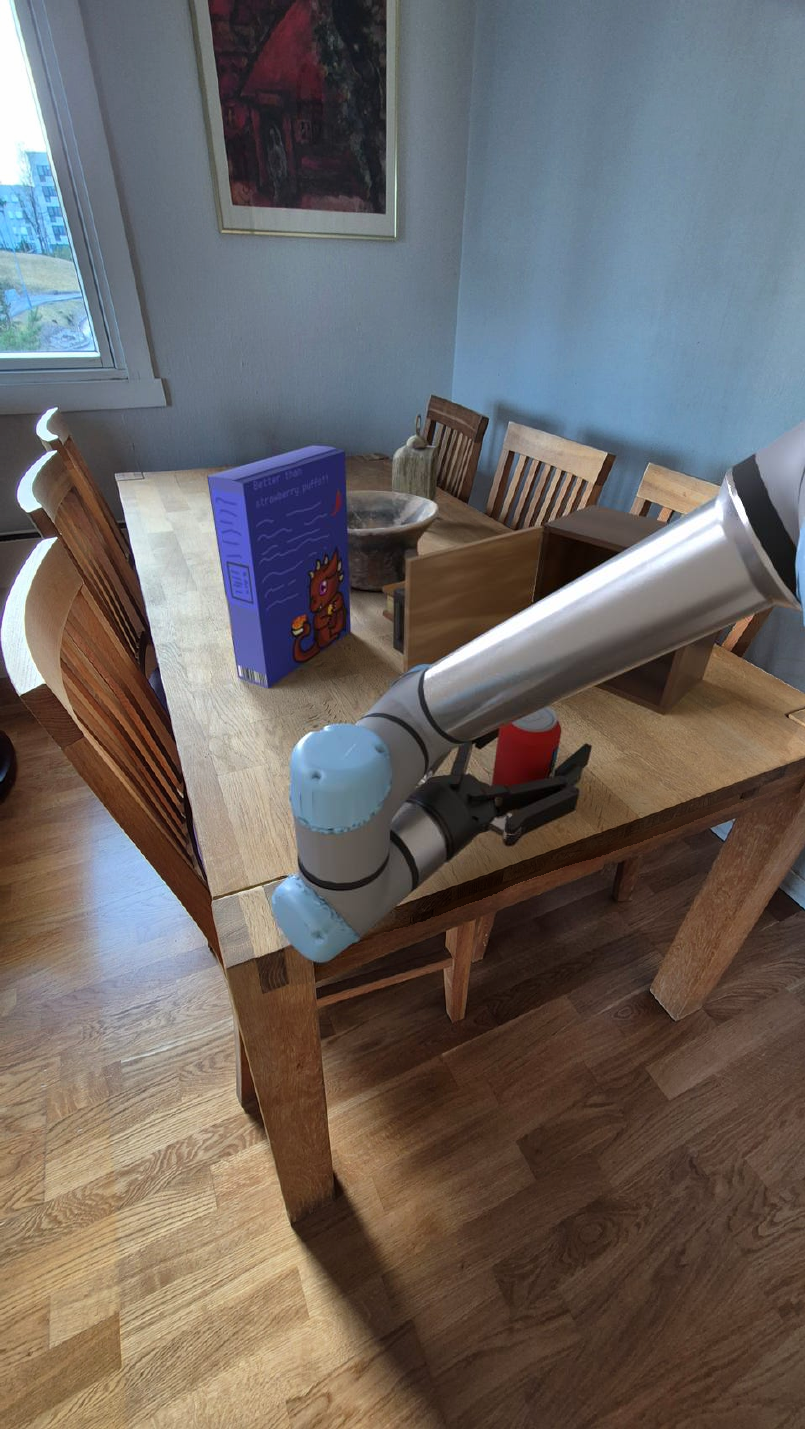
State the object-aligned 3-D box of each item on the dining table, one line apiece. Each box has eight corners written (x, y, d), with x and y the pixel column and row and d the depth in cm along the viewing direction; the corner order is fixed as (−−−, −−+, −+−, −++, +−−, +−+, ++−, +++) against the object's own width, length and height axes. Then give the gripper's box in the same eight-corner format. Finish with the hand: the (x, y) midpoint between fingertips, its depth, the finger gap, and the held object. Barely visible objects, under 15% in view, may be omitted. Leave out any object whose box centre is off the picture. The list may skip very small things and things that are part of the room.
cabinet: (663, 715, 90) (709, 569, 77) (524, 656, 103) (543, 523, 90) (702, 679, 98) (749, 542, 85) (568, 629, 111) (592, 504, 99)
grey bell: (427, 532, 153) (431, 421, 138) (390, 529, 154) (391, 419, 140) (435, 514, 164) (440, 410, 150) (401, 512, 166) (403, 408, 151)
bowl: (328, 550, 141) (325, 482, 132) (445, 561, 137) (449, 491, 128) (287, 599, 119) (280, 521, 111) (424, 613, 115) (427, 533, 107)
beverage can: (559, 804, 74) (577, 722, 67) (513, 823, 71) (527, 739, 64) (523, 771, 79) (537, 691, 72) (479, 788, 76) (489, 706, 69)
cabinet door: (381, 686, 94) (381, 546, 82) (497, 643, 106) (512, 515, 94) (406, 705, 90) (410, 561, 78) (523, 658, 102) (543, 526, 90)
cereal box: (323, 623, 111) (312, 443, 94) (350, 631, 109) (345, 449, 92) (238, 677, 96) (206, 474, 79) (268, 688, 94) (242, 481, 76)
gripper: (343, 805, 68) (470, 721, 82) (511, 926, 56) (628, 803, 69) (340, 751, 64) (474, 672, 78) (522, 869, 52) (644, 750, 65)
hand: (547, 734), depth 74 cm, fingers open, 10 cm apart
